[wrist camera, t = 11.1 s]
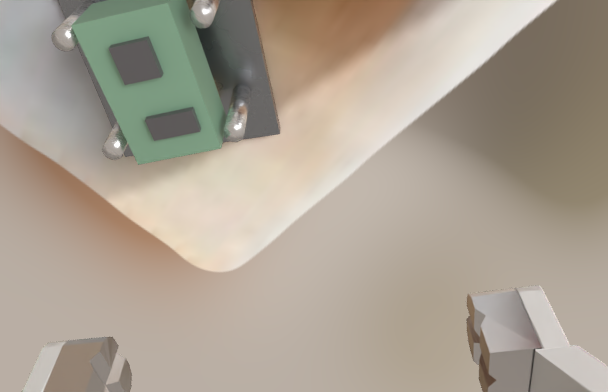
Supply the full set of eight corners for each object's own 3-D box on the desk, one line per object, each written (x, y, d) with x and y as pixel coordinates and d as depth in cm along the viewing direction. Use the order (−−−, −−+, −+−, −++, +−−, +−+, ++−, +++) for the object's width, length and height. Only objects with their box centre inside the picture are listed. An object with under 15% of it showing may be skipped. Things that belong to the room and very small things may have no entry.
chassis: (43, -51, 37) (-3, -22, 31) (233, -87, 35) (220, -63, 30) (128, 150, 46) (104, 200, 41) (280, 127, 45) (277, 176, 39)
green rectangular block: (91, 3, 35) (67, 29, 32) (179, -18, 35) (165, 6, 31) (151, 135, 41) (136, 169, 38) (227, 119, 40) (220, 153, 37)
